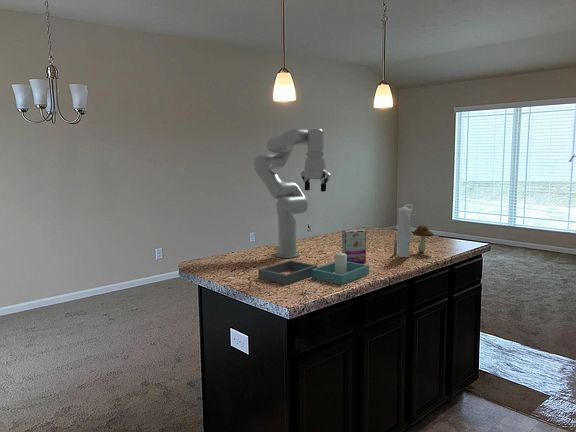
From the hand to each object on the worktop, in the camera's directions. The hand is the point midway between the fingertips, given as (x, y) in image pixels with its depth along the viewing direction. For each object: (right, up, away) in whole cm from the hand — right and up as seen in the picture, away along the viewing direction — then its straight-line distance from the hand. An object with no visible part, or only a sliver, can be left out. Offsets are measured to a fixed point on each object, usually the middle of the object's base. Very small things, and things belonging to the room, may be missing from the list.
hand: (315, 190), depth 222 cm
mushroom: (+60, -32, +30) cm, 75 cm away
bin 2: (+10, -39, -16) cm, 44 cm away
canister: (+10, -39, -16) cm, 44 cm away
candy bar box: (+20, -36, +8) cm, 42 cm away
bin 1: (-13, -39, -16) cm, 44 cm away
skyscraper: (+48, -34, +21) cm, 62 cm away
